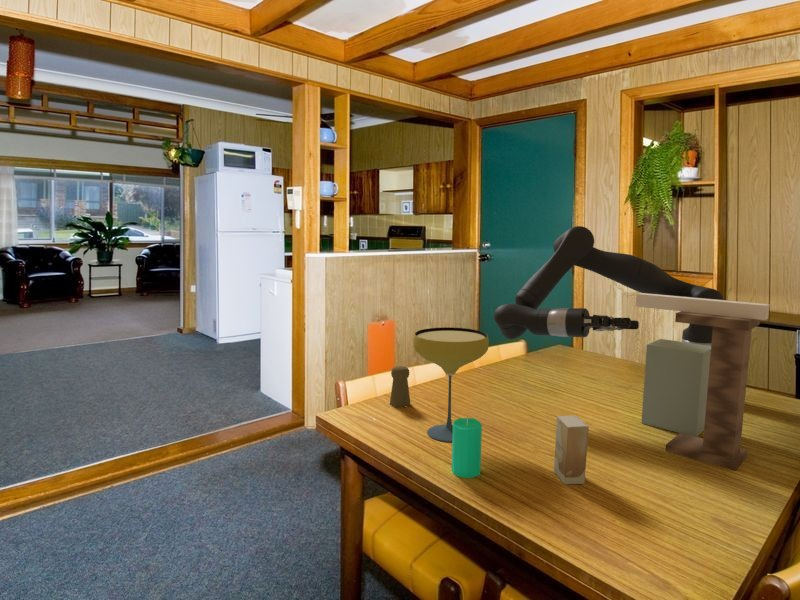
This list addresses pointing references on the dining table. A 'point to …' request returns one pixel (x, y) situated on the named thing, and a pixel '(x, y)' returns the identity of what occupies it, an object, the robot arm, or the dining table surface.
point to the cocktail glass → (449, 359)
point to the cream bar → (704, 306)
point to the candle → (466, 447)
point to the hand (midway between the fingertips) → (634, 323)
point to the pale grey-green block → (676, 386)
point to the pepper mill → (400, 387)
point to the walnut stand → (721, 392)
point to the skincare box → (571, 449)
